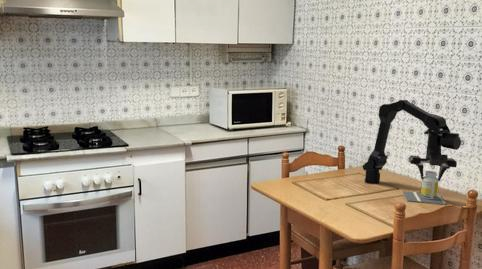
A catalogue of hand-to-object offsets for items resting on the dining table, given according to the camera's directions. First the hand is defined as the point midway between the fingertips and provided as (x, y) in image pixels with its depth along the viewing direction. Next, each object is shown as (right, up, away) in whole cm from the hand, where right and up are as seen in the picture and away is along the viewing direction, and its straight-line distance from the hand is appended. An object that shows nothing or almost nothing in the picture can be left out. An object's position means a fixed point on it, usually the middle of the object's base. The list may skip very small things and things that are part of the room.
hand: (430, 180), depth 205 cm
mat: (-2, -8, +2) cm, 9 cm away
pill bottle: (0, -8, +1) cm, 8 cm away
